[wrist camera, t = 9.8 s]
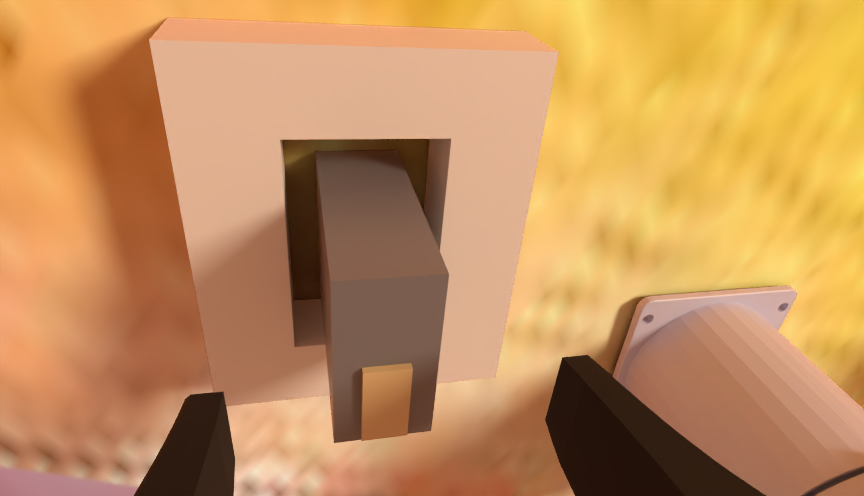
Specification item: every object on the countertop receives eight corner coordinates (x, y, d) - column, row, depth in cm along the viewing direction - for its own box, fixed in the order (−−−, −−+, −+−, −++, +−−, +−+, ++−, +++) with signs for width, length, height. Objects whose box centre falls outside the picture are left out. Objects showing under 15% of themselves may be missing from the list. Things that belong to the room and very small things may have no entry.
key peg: (397, 149, 18) (451, 279, 12) (391, 280, 21) (432, 436, 15) (315, 150, 18) (330, 287, 12) (320, 284, 20) (334, 449, 14)
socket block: (477, 333, 23) (495, 377, 21) (223, 355, 21) (216, 407, 19) (525, 31, 17) (558, 52, 15) (167, 17, 15) (149, 39, 13)
